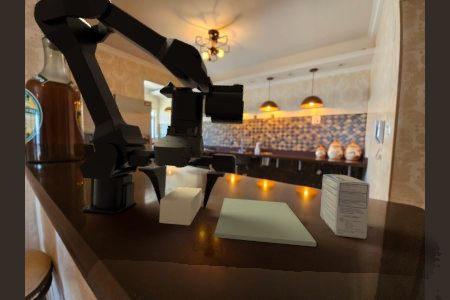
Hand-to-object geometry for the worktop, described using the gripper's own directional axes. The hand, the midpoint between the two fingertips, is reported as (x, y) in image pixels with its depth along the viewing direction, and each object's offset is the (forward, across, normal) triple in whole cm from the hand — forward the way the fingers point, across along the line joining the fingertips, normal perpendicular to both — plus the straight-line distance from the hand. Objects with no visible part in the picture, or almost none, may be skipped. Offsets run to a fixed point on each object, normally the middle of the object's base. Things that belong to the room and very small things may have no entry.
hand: (182, 206), depth 34 cm
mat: (+1, +14, +1) cm, 14 cm away
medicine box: (+2, +28, 0) cm, 28 cm away
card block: (+2, 0, 0) cm, 2 cm away
